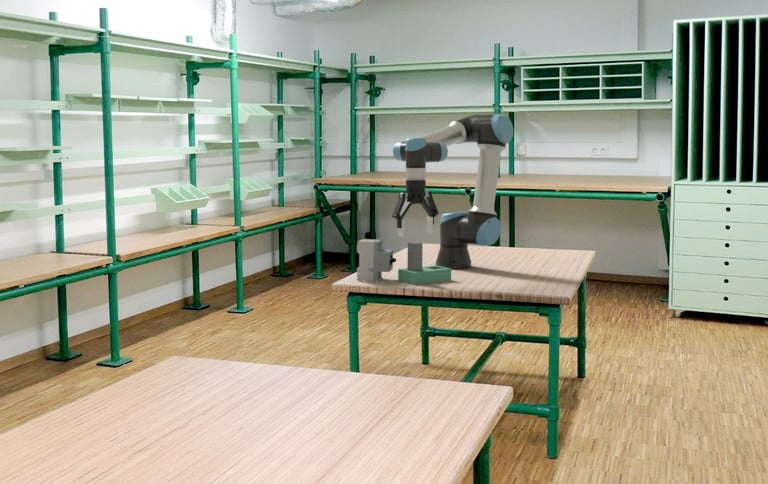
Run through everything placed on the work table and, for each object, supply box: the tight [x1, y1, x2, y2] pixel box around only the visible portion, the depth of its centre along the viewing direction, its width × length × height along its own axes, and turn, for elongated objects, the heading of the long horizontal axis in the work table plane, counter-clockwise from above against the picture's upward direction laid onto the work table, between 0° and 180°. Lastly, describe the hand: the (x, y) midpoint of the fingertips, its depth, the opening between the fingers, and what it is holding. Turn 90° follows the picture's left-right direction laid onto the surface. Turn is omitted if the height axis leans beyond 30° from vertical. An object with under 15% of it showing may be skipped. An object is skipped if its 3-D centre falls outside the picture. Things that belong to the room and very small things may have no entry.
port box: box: [397, 264, 452, 286], centre depth 330 cm, size 18×10×4 cm, turn 125°
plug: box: [406, 241, 424, 272], centre depth 326 cm, size 4×4×15 cm
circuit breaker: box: [356, 238, 397, 282], centre depth 331 cm, size 8×14×15 cm, turn 78°
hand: (415, 235), depth 325 cm, fingers open, 13 cm apart
